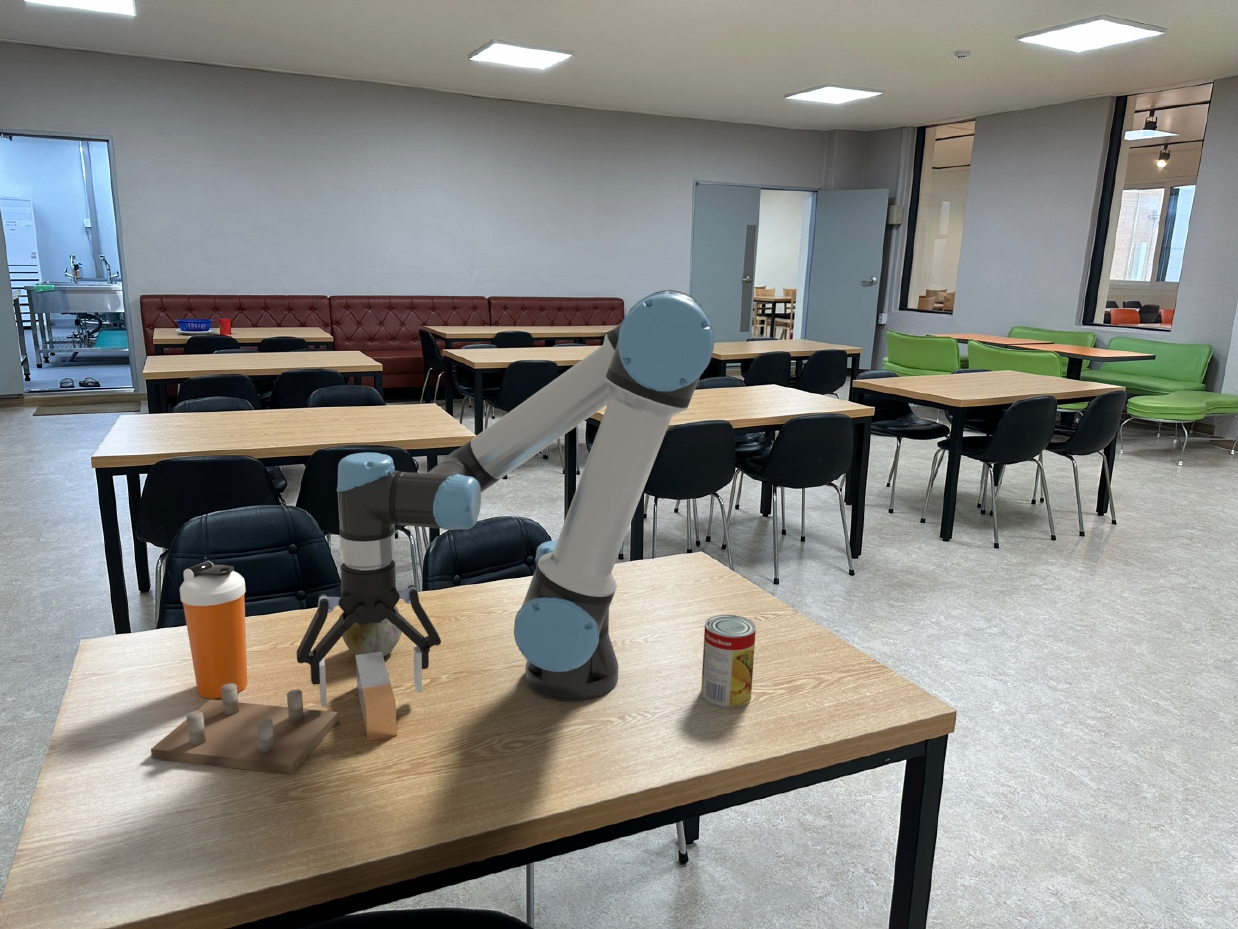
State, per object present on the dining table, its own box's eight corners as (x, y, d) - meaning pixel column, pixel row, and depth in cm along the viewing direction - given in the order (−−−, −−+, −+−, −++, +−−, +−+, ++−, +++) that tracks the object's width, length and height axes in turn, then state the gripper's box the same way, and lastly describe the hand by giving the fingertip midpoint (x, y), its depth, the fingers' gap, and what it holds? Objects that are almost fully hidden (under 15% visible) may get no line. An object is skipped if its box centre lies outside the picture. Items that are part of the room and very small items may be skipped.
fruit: (376, 672, 135) (373, 604, 132) (330, 661, 139) (326, 594, 136) (414, 646, 144) (411, 582, 142) (369, 636, 148) (366, 573, 145)
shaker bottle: (229, 705, 124) (217, 581, 119) (177, 698, 126) (163, 575, 121) (265, 677, 133) (255, 559, 128) (216, 670, 134) (204, 554, 130)
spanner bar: (357, 687, 131) (355, 655, 129) (383, 683, 132) (381, 651, 131) (367, 741, 116) (365, 705, 115) (396, 735, 118) (395, 700, 116)
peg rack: (338, 721, 121) (336, 687, 119) (292, 774, 108) (289, 737, 107) (211, 708, 123) (207, 675, 122) (151, 759, 111) (147, 722, 109)
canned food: (757, 690, 133) (762, 621, 130) (740, 713, 126) (745, 640, 123) (712, 678, 136) (716, 610, 133) (693, 699, 129) (696, 628, 127)
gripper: (450, 545, 127) (450, 671, 132) (273, 560, 117) (281, 695, 122) (460, 562, 120) (460, 694, 125) (273, 579, 110) (282, 721, 116)
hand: (371, 695), depth 124 cm, fingers open, 13 cm apart
